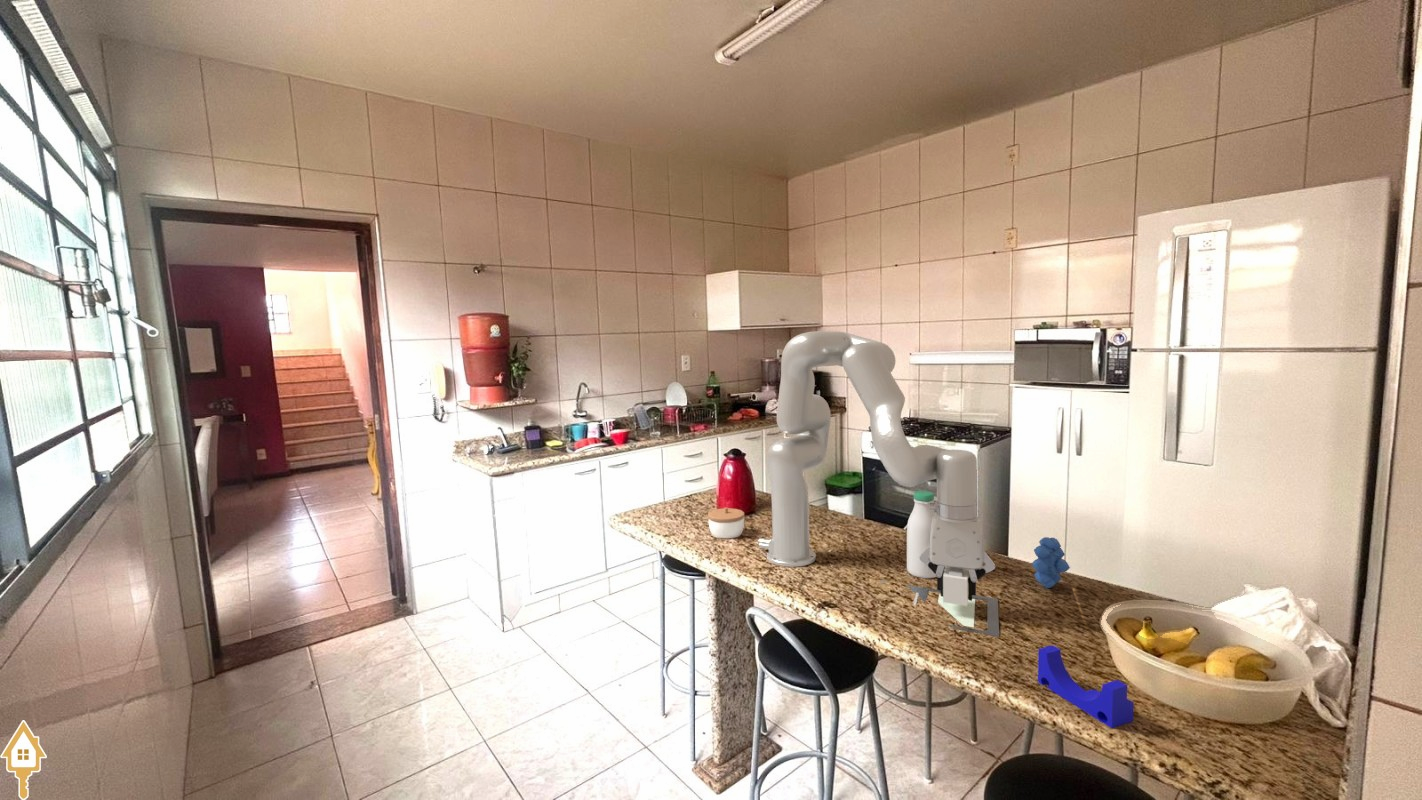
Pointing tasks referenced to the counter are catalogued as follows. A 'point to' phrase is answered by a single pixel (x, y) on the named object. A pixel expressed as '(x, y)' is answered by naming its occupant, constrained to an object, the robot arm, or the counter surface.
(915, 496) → the milk bottle
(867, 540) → the counter surface
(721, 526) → the lidded jar
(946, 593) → the plug
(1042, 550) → the grapes
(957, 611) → the port pad
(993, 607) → the two-window grey frame
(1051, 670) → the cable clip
